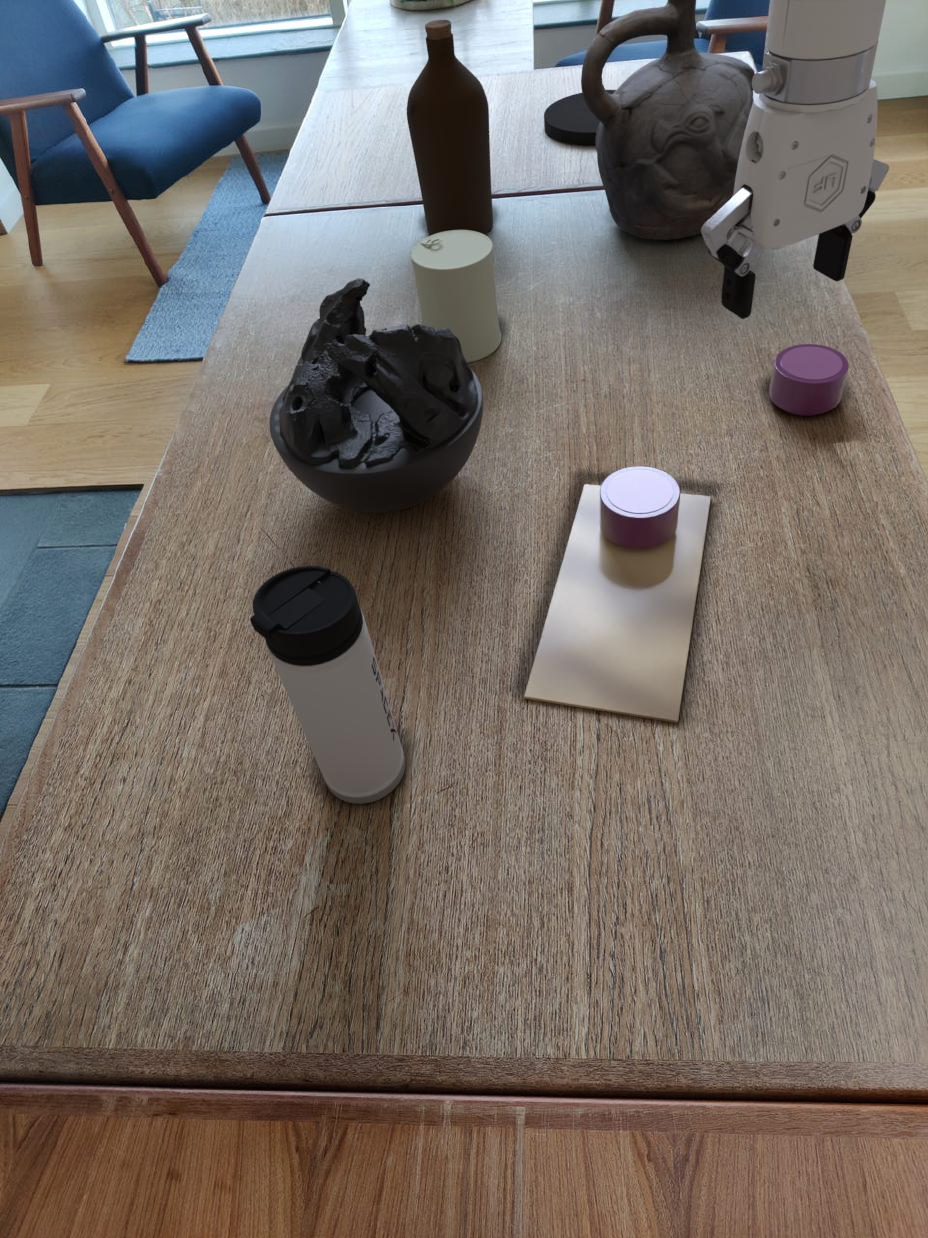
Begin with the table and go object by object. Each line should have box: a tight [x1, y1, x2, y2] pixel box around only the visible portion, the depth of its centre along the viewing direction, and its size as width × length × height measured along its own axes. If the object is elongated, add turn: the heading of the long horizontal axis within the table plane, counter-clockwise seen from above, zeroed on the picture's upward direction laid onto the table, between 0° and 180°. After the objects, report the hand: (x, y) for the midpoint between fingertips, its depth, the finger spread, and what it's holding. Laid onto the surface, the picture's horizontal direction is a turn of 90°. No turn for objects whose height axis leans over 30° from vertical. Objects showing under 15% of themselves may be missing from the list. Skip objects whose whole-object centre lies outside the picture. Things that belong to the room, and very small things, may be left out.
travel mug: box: [249, 565, 406, 805], centre depth 60 cm, size 6×7×20 cm
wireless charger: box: [543, 89, 617, 147], centre depth 144 cm, size 18×18×2 cm
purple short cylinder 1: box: [599, 465, 681, 549], centre depth 80 cm, size 7×7×5 cm
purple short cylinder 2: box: [768, 343, 850, 417], centre depth 90 cm, size 7×7×5 cm
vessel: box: [580, 0, 756, 241], centre depth 108 cm, size 24×22×30 cm
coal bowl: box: [269, 277, 484, 513], centre depth 82 cm, size 20×20×19 cm
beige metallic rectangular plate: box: [523, 483, 712, 724], centre depth 77 cm, size 26×12×1 cm, turn 164°
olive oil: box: [406, 19, 494, 236], centre depth 116 cm, size 11×11×25 cm
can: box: [410, 230, 502, 364], centre depth 101 cm, size 9×9×12 cm
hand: (782, 292), depth 76 cm, fingers open, 9 cm apart
